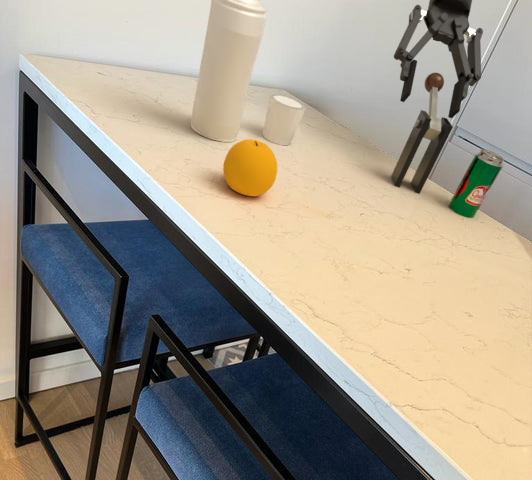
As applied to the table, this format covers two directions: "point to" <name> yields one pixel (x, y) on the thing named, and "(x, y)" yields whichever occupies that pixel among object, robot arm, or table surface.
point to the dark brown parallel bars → (428, 157)
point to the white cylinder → (282, 119)
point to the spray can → (227, 67)
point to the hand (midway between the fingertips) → (429, 106)
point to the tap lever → (433, 104)
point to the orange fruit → (250, 168)
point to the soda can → (476, 183)
